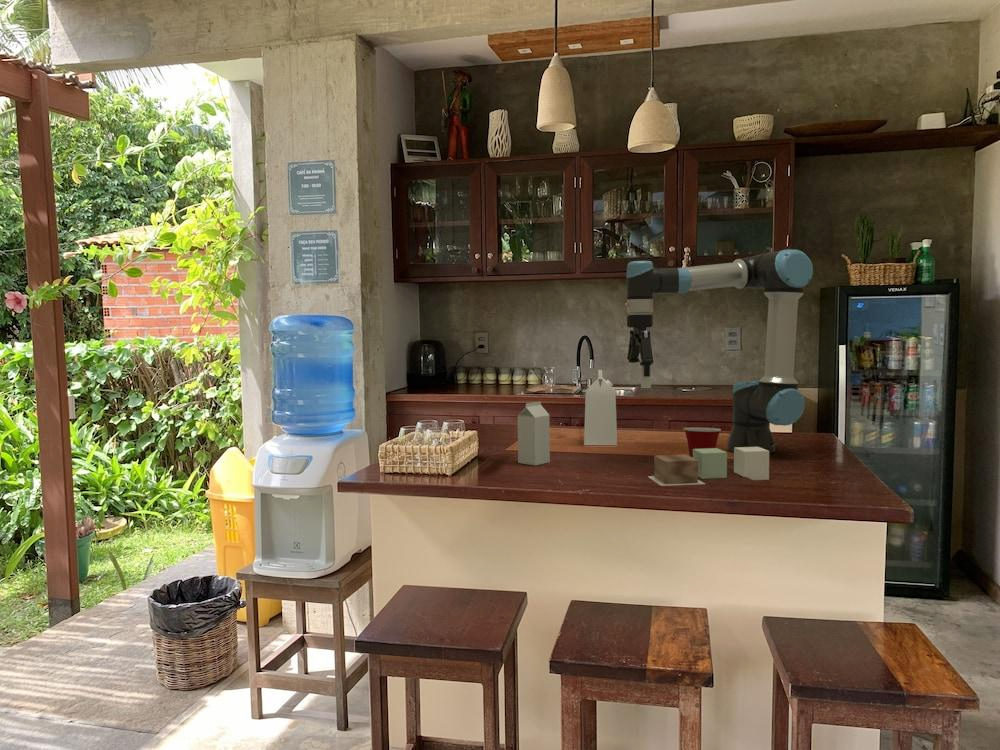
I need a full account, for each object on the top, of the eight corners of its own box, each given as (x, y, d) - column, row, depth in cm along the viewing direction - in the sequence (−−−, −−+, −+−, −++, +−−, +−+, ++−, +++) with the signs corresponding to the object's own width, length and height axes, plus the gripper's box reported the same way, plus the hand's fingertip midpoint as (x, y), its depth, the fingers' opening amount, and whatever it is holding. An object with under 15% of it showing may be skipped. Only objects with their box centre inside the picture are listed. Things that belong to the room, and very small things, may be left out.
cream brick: (757, 474, 217) (757, 446, 216) (769, 479, 210) (769, 450, 209) (733, 475, 216) (734, 447, 215) (744, 480, 209) (744, 451, 208)
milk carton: (550, 462, 239) (549, 402, 237) (535, 466, 234) (534, 404, 232) (532, 460, 244) (532, 400, 242) (517, 463, 238) (517, 402, 237)
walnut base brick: (686, 475, 211) (686, 454, 211) (698, 482, 202) (698, 460, 202) (654, 477, 210) (654, 455, 210) (664, 484, 201) (664, 461, 201)
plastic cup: (721, 464, 231) (722, 425, 230) (719, 471, 221) (720, 430, 220) (685, 463, 235) (685, 424, 234) (681, 469, 225) (681, 429, 224)
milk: (584, 440, 280) (584, 369, 278) (616, 440, 279) (616, 369, 277) (584, 446, 268) (583, 372, 266) (617, 446, 267) (616, 371, 265)
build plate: (689, 478, 213) (689, 474, 213) (705, 487, 201) (705, 483, 201) (647, 479, 212) (647, 476, 212) (661, 489, 200) (661, 485, 200)
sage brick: (716, 476, 215) (716, 448, 215) (726, 481, 208) (727, 452, 208) (692, 477, 215) (692, 448, 214) (701, 482, 208) (702, 453, 207)
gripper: (617, 314, 238) (617, 382, 239) (638, 314, 213) (638, 390, 215) (641, 314, 238) (641, 382, 240) (664, 313, 214) (664, 389, 215)
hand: (639, 386), depth 227 cm, fingers open, 13 cm apart
